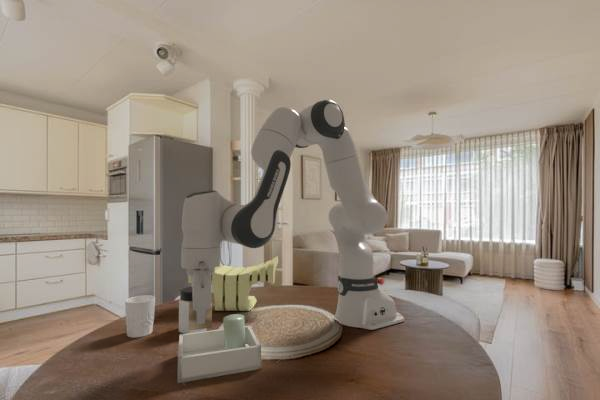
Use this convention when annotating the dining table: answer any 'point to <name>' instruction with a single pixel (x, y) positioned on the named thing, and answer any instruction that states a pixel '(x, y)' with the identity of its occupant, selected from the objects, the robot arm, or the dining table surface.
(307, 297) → the dining table surface
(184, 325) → the jar
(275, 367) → the dining table surface
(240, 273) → the slatted curved stool
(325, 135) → the robot arm
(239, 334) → the sage cylinder
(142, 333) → the white cup
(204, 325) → the beech cube
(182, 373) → the tote
